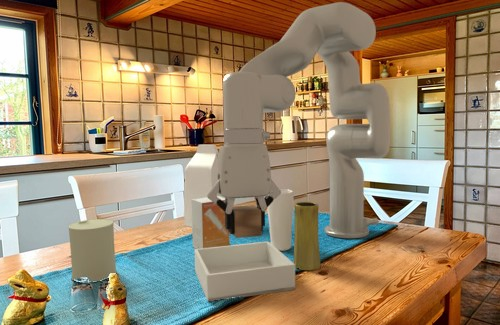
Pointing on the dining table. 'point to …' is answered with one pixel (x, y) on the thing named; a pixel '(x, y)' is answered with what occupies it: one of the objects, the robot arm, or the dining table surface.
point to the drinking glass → (281, 220)
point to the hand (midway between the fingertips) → (245, 230)
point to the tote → (243, 270)
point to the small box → (208, 224)
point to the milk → (199, 178)
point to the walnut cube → (247, 221)
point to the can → (92, 249)
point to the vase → (306, 236)
